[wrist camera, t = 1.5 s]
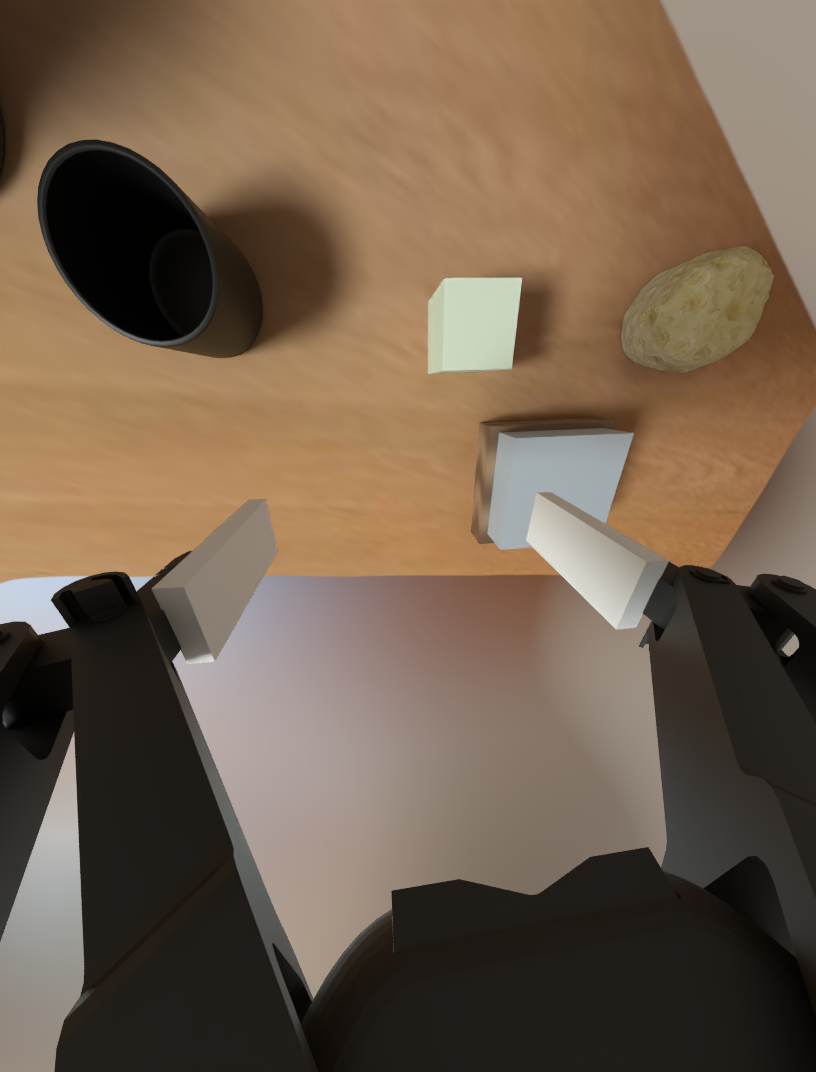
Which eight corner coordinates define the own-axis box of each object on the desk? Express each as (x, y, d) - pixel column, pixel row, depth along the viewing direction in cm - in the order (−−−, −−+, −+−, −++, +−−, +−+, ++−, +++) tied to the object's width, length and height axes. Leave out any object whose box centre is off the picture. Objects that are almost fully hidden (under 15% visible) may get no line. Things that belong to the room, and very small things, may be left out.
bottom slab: (477, 422, 34) (490, 426, 30) (590, 417, 35) (615, 420, 32) (469, 530, 40) (479, 543, 37) (565, 522, 41) (583, 535, 38)
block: (427, 302, 28) (444, 277, 22) (488, 301, 28) (522, 277, 22) (428, 374, 30) (442, 371, 24) (483, 372, 31) (511, 368, 25)
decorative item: (591, 347, 34) (636, 405, 30) (649, 235, 26) (724, 295, 21) (666, 333, 35) (722, 388, 31) (749, 217, 26) (843, 272, 22)
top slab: (499, 432, 31) (516, 438, 27) (604, 428, 32) (634, 433, 28) (487, 533, 36) (500, 549, 33) (577, 527, 37) (599, 541, 34)
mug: (102, 181, 22) (-51, 64, 14) (269, 253, 25) (221, 189, 17) (115, 325, 26) (0, 297, 18) (259, 373, 29) (215, 367, 21)
